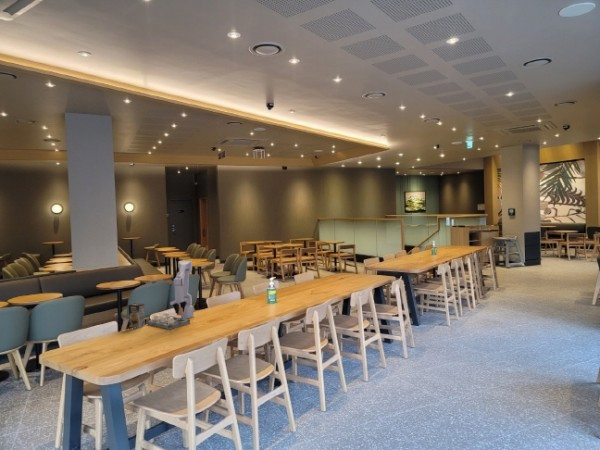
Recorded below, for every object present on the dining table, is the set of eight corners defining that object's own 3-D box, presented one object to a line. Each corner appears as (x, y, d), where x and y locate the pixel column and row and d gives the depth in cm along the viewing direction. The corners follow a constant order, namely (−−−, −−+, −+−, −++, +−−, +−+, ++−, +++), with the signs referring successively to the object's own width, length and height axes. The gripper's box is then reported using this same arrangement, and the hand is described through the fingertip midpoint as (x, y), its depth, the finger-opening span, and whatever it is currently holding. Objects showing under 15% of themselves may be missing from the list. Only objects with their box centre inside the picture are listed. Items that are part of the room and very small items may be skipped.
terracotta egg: (180, 313, 306) (180, 305, 306) (184, 314, 304) (184, 306, 303) (175, 314, 303) (175, 307, 302) (179, 315, 300) (179, 307, 300)
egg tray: (167, 318, 319) (167, 309, 319) (190, 323, 305) (189, 314, 304) (147, 324, 305) (146, 315, 304) (169, 329, 290) (169, 319, 290)
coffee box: (128, 327, 298) (127, 304, 298) (134, 324, 305) (134, 302, 304) (139, 327, 296) (138, 305, 295) (145, 325, 302) (144, 303, 301)
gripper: (174, 296, 294) (175, 315, 295) (190, 293, 306) (191, 311, 307) (168, 295, 298) (168, 314, 299) (184, 292, 310) (184, 310, 311)
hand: (179, 312), depth 303 cm, fingers closed on terracotta egg, 4 cm apart
